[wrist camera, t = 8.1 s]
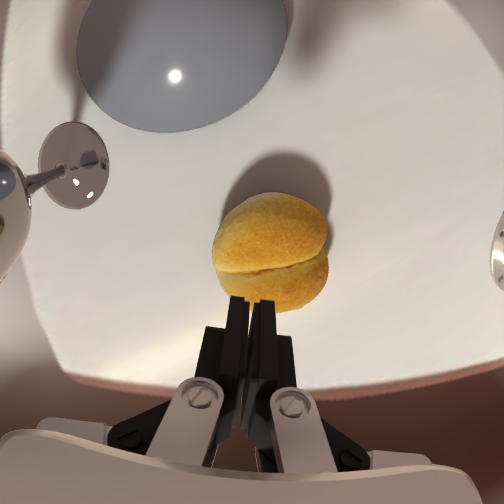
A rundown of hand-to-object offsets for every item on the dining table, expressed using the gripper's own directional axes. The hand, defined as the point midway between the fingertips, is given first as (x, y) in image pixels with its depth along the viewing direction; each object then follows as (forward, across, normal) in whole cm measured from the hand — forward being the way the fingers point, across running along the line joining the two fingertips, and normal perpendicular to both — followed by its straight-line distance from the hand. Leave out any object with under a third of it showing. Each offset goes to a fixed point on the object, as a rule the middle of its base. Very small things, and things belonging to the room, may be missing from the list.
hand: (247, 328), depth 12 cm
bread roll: (+12, +1, 0) cm, 13 cm away
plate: (+12, +7, -13) cm, 19 cm away
